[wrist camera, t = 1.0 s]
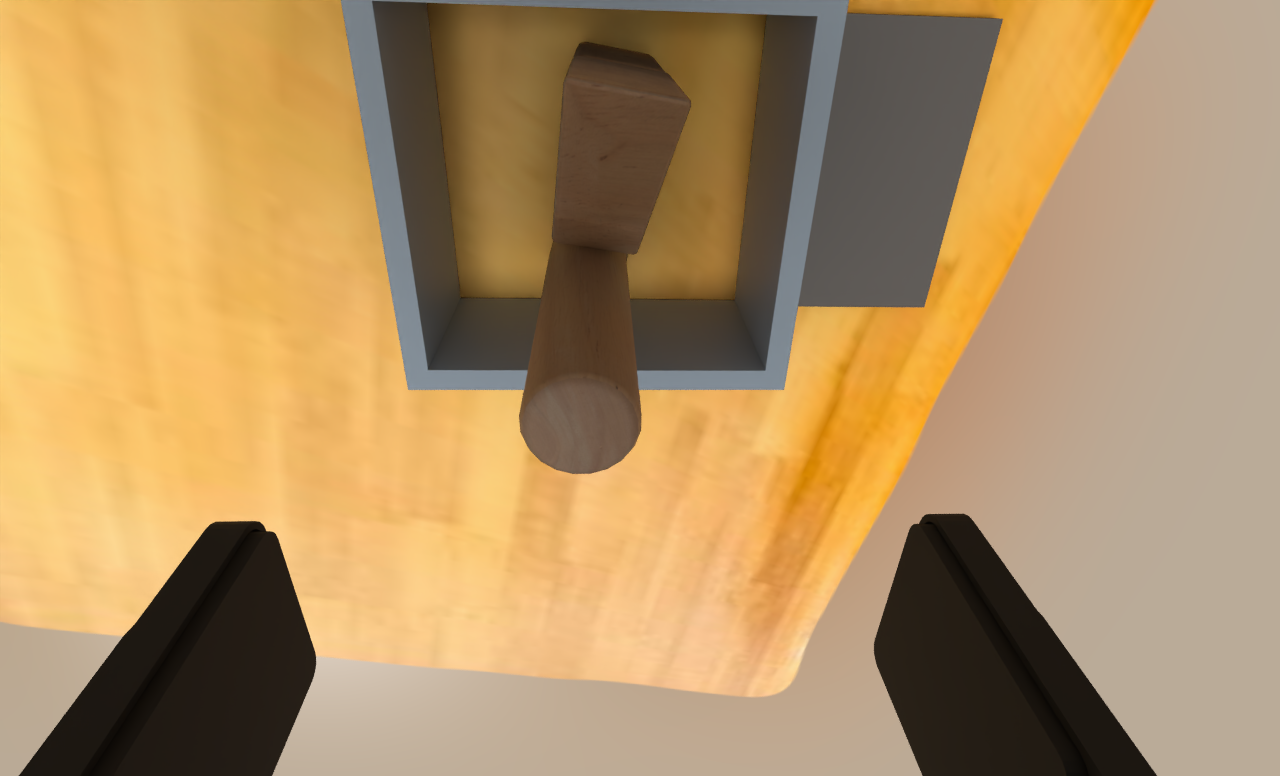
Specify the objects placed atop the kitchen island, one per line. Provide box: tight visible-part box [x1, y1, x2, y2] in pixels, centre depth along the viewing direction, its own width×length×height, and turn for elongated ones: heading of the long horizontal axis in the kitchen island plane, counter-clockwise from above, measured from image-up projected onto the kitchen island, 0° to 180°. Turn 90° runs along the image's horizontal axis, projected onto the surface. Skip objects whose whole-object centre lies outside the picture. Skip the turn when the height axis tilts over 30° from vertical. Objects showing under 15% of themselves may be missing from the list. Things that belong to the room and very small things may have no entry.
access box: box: [341, 0, 849, 390], centre depth 29 cm, size 16×17×8 cm
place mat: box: [798, 13, 1003, 307], centre depth 33 cm, size 14×8×1 cm, turn 178°
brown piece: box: [519, 42, 691, 474], centre depth 25 cm, size 4×11×18 cm, turn 170°
